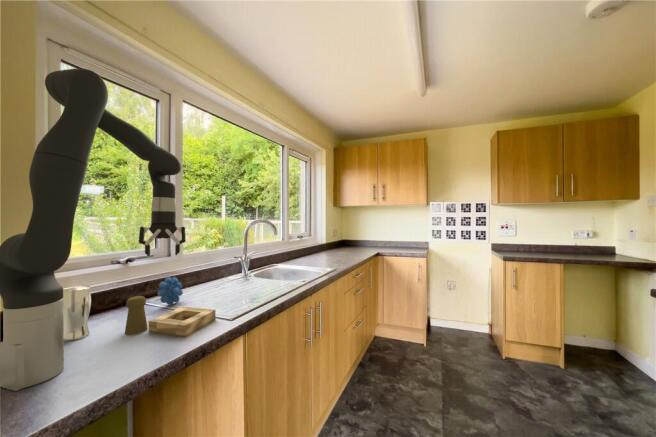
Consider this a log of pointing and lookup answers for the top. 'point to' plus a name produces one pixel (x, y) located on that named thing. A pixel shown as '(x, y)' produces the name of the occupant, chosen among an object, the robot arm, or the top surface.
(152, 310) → the top surface
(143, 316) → the cork
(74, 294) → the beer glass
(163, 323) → the holder block
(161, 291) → the blue lobed wheel
